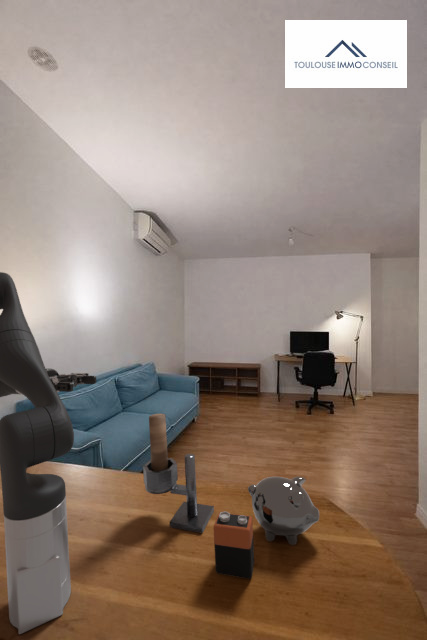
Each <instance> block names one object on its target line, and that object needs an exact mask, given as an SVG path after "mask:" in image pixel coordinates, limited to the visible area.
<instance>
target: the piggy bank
mask: <svg viewBox="0 0 427 640" xmlns="http://www.w3.org/2000/svg"><path fill="white" fill-rule="evenodd" d="M305 482H306V478H305V477H303V476H294V477H293V478H291V479H290V478H288V477H282V476H268V477H265V478H263V479H262V480H260V481H259V482H257V484H250V485H249V486H247V487H248V488H247V491H248V493H249V495H250V496H251V504H252V505H251V506H252V511H253V513H254V517H255V519H256V520H257V523H258V524H259V525H260V527H262V528H263V530H264V531H265V539H266V541H268V542H273V541H274V540H275V539H276V536H283V537H285V538H286V540H287V543H288V544H289V545H291V546H295V545H296V544H297V542H298V535H301V534H303V533H305V532H306V531H307V530H309V528H311V527H312V526H313V525H314V524H316V523H317V522H319V520H320V510H319V509H318V508H317V507H316V506H315V505H314V503H313V502H312V499H311V498H310V495H309V494H308V493H307V491H306V489H305V488H303V486H302V485H303V484H304V483H305Z"/></svg>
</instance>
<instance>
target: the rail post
mask: <svg viewBox="0 0 427 640" xmlns="http://www.w3.org/2000/svg"><path fill="white" fill-rule="evenodd" d="M166 421H167V419H166V414H164V413H154V414H151V415H149V416H148V425H149V426H148V427H149V428H148V429H149V446H150V447H149V448H150V460H151V468H152V471H158V472H159V471H162V470H166V469H168V458H169V457H168V439H167V438H168V437H167V422H166Z"/></svg>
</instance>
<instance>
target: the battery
mask: <svg viewBox="0 0 427 640" xmlns="http://www.w3.org/2000/svg"><path fill="white" fill-rule="evenodd" d="M253 524H254V523H253V517H252V516H251V515H245V514H244V515H243V514H239V513H238V514H236V513H230V512H228V511H221V512H218V514H217V516H216V518H215V521H214V524H213V542H214V563H215V564H214V565H215V573H216V574H219V575H225V576H229V577H230V576H231V577H237V578H242V579H247V580H251V579H252V577H253V572H254V567H255V550H254V549H255V547H254V546H255V545H254V527H253Z"/></svg>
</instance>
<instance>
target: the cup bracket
mask: <svg viewBox="0 0 427 640" xmlns="http://www.w3.org/2000/svg"><path fill="white" fill-rule="evenodd" d="M183 458H184V472H185V473H184V474H185V484H179V483H177V482H178V479H179V475H178V464H177V462H176V460H174V458H171V457H170V458H169V457H168V469H166V470H162V471H159V472H158V471H152V468H151V459H149V461H147V462H146V463H145V464H144V465H143V467H142V471H143V484H144V488H145V491H146V492H147V493H148V494H152V495H163V494H166V493H168V492H169V494H174V495H180V496H186V501H183V502H182V503H181V505H179V508H178V509H177V511H176V512H175V513H174V515H173V516H172V518H171V519H170V521H169V528H173V529H177V530H183V531H188V532H192V533H193V532H194V533H199V534H203V533H204V531H205V529H206V527H207V526H208V523H209V521H210V520H211V517H212V515H213V514H214V512H215V506H214V505H208V504H201V503H198V500H197V499H198V497H197V495H198V494H197V476H196V475H197V474H196V461H195V460H196V459H195V458H196V455H195V454H193V453H186V454H185V455H184V457H183Z"/></svg>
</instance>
